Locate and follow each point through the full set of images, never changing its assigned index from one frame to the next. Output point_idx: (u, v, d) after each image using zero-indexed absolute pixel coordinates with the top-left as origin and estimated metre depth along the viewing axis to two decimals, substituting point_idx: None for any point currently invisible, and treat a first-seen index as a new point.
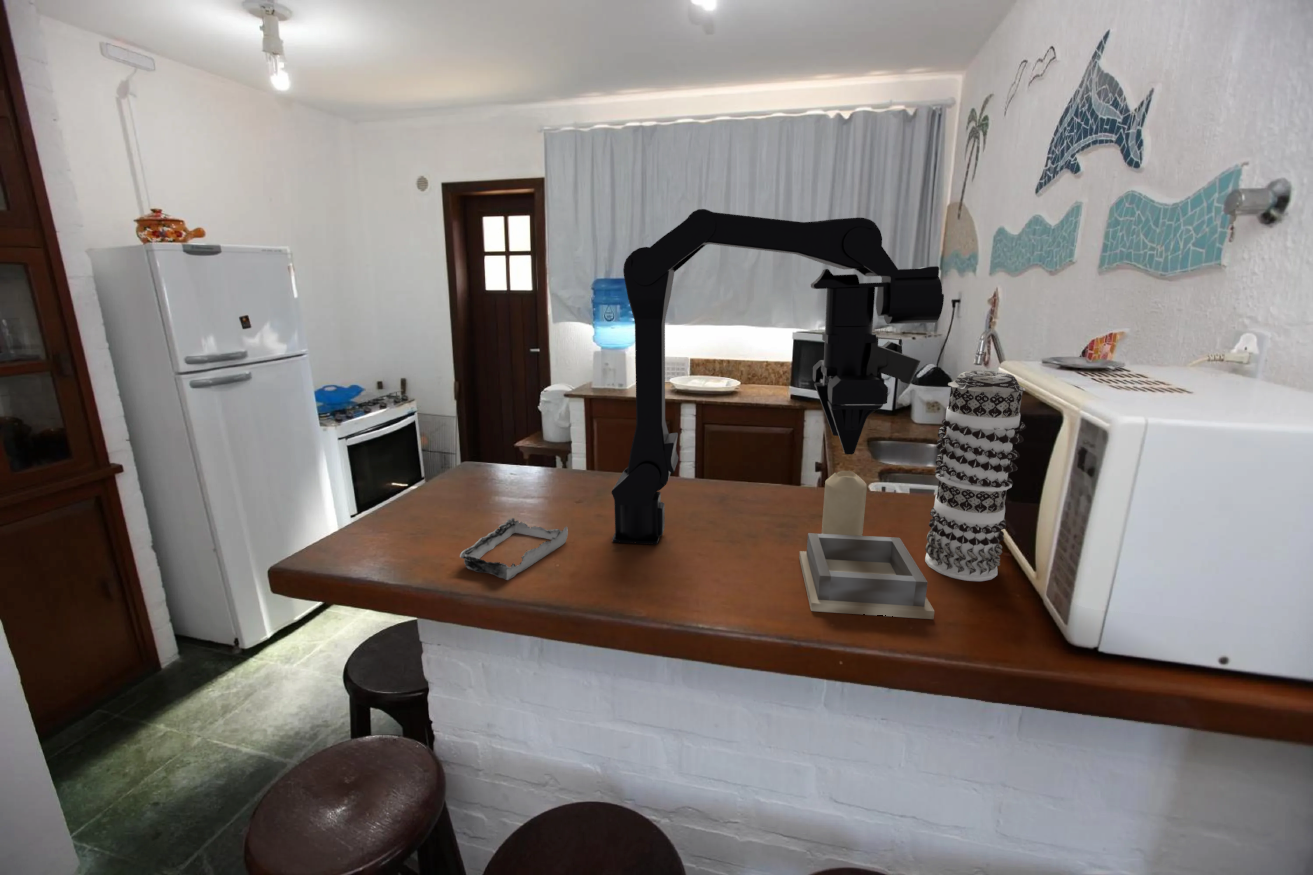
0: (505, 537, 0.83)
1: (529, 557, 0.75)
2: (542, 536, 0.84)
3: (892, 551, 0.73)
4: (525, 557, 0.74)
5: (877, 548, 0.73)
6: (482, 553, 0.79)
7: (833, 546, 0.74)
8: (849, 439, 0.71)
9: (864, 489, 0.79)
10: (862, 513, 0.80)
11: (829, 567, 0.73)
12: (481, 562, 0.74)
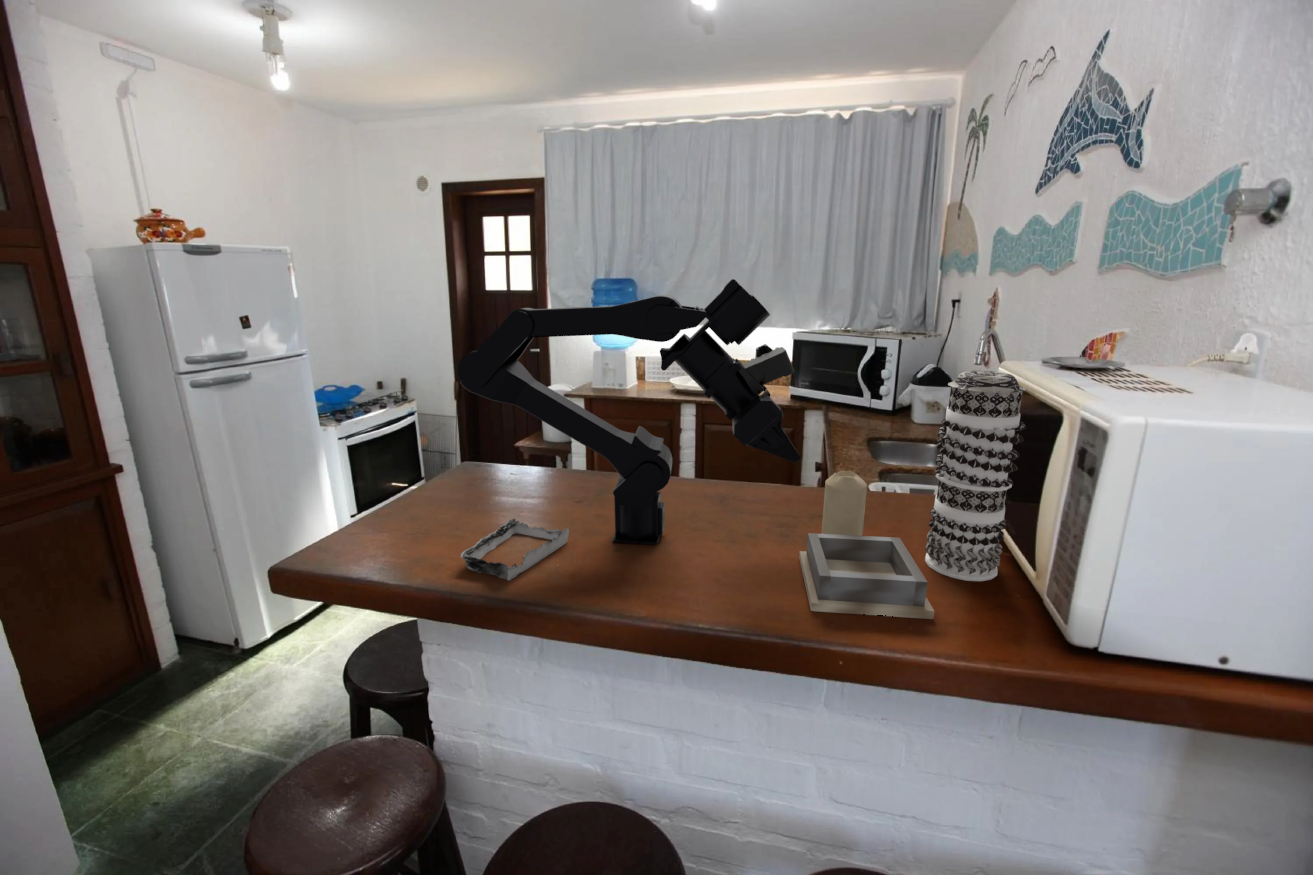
0: (506, 537, 0.83)
1: (530, 557, 0.75)
2: (543, 536, 0.84)
3: (892, 551, 0.73)
4: (527, 558, 0.74)
5: (877, 548, 0.73)
6: (483, 553, 0.78)
7: (833, 546, 0.74)
8: (786, 451, 0.74)
9: (864, 489, 0.79)
10: (862, 513, 0.80)
11: (829, 567, 0.73)
12: (482, 562, 0.74)
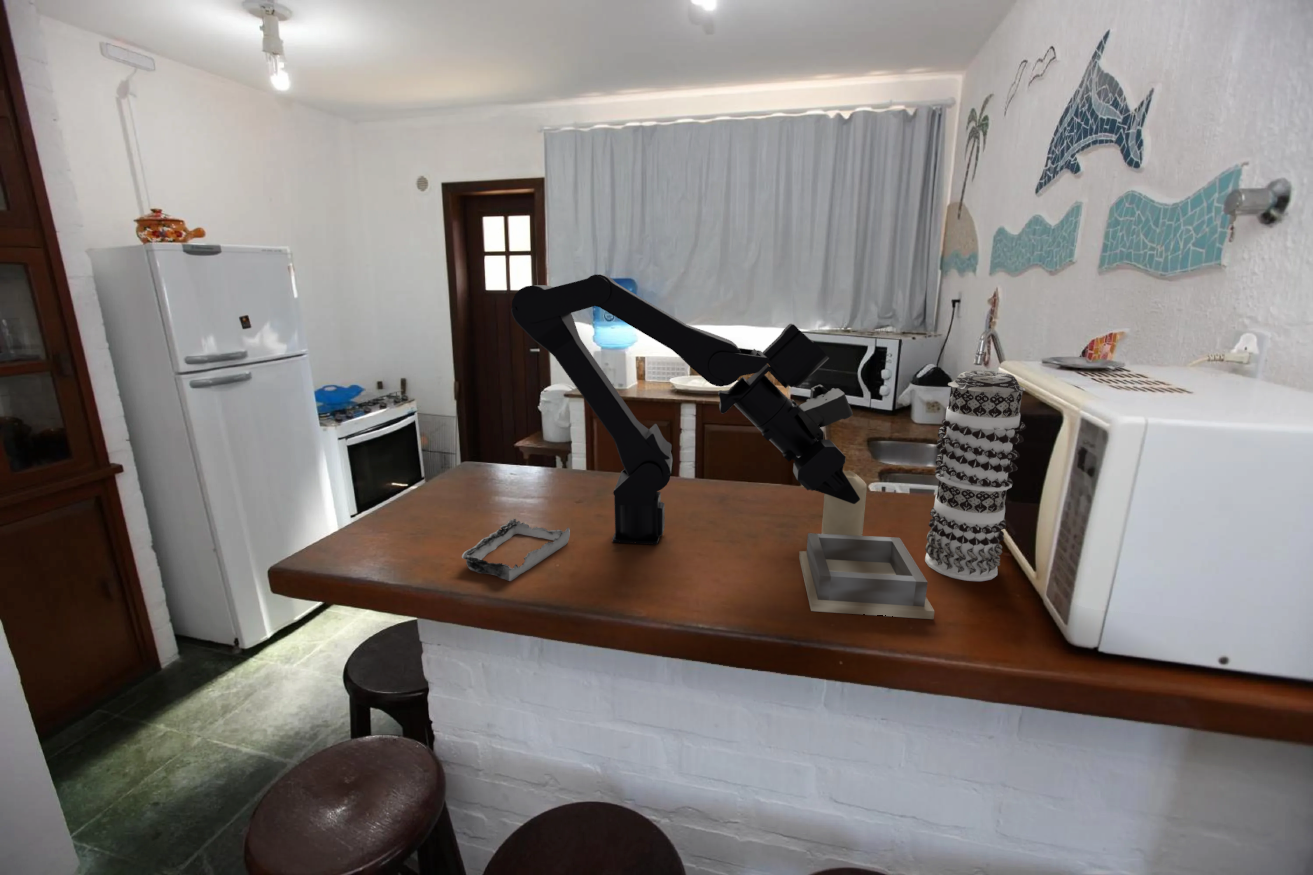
0: (507, 538, 0.83)
1: (531, 558, 0.75)
2: (544, 536, 0.84)
3: (892, 551, 0.73)
4: (528, 558, 0.74)
5: (877, 548, 0.73)
6: (484, 554, 0.78)
7: (833, 546, 0.74)
8: (846, 493, 0.75)
9: (864, 489, 0.79)
10: (862, 513, 0.80)
11: (829, 567, 0.73)
12: (483, 563, 0.73)
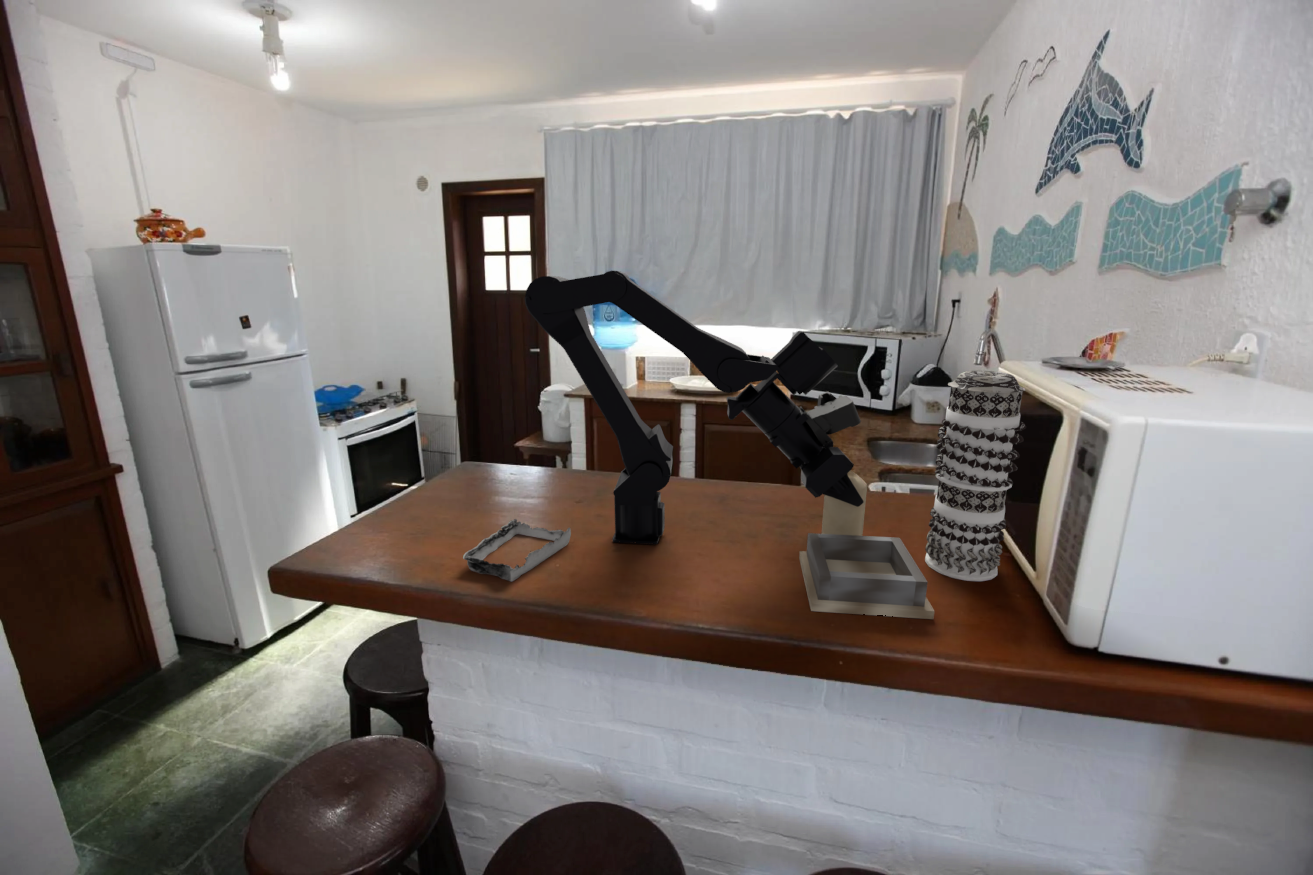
0: (507, 538, 0.83)
1: (532, 558, 0.75)
2: (545, 537, 0.84)
3: (892, 551, 0.73)
4: (529, 558, 0.74)
5: (877, 548, 0.73)
6: (485, 554, 0.78)
7: (833, 546, 0.74)
8: (850, 496, 0.77)
9: (864, 489, 0.79)
10: (862, 513, 0.80)
11: (829, 567, 0.73)
12: (484, 563, 0.73)
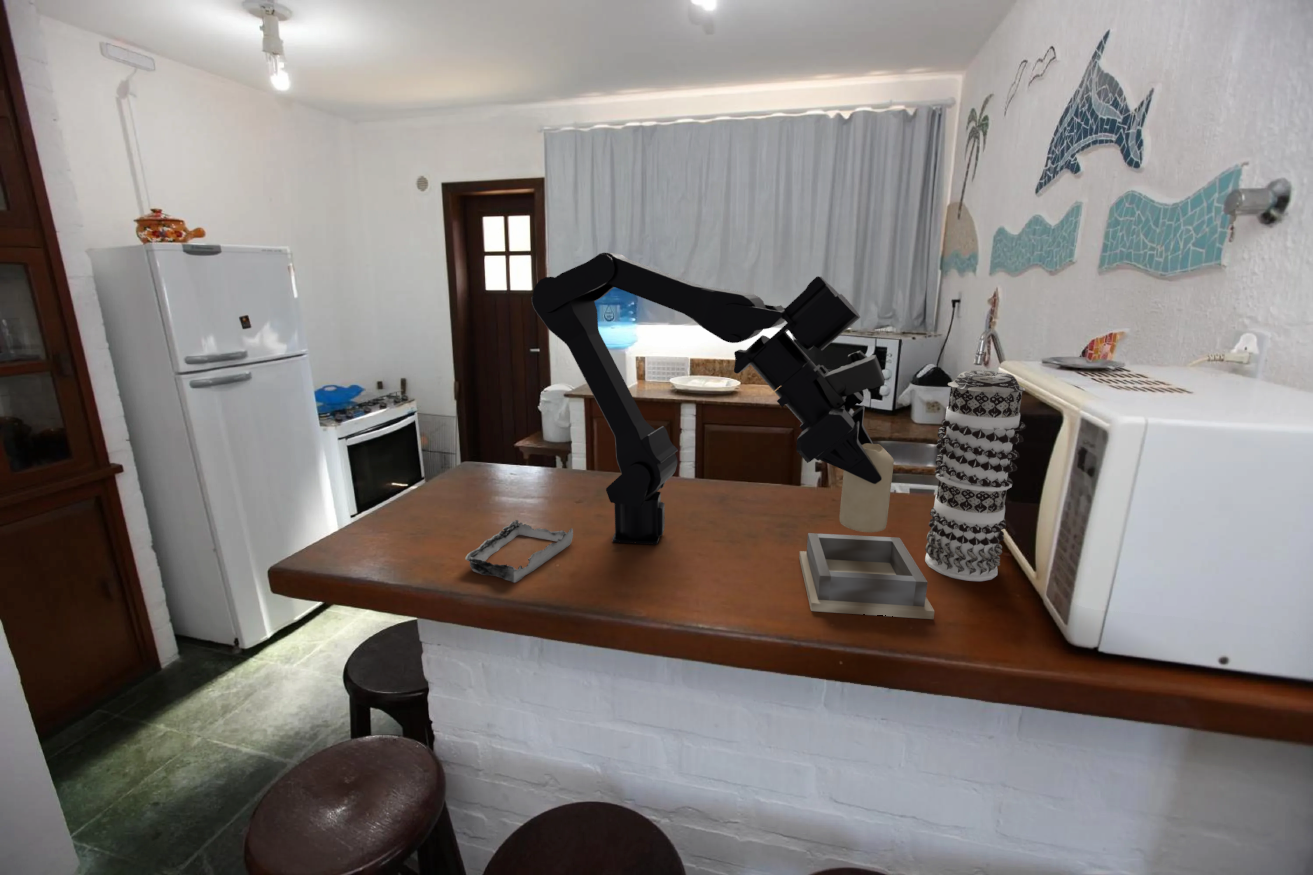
0: (509, 539, 0.83)
1: (535, 559, 0.74)
2: (547, 538, 0.83)
3: (892, 551, 0.73)
4: (532, 559, 0.74)
5: (877, 548, 0.73)
6: (487, 555, 0.78)
7: (833, 546, 0.74)
8: (864, 470, 0.66)
9: (886, 465, 0.67)
10: (884, 494, 0.68)
11: (829, 567, 0.73)
12: (487, 565, 0.73)
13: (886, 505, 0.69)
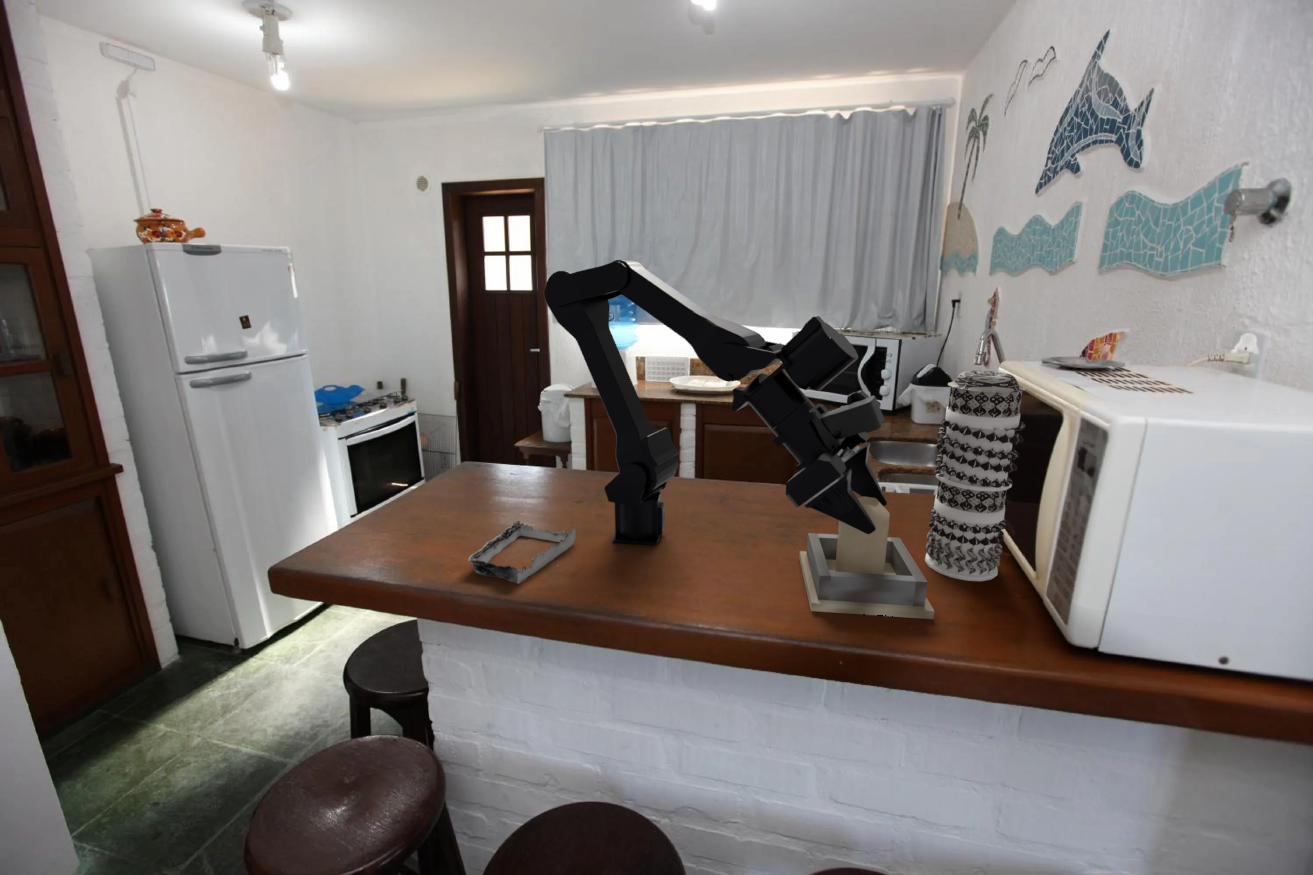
0: (511, 540, 0.82)
1: (539, 560, 0.74)
2: (549, 538, 0.83)
3: (892, 551, 0.73)
4: (535, 560, 0.74)
5: None
6: (489, 557, 0.77)
7: (833, 546, 0.74)
8: (856, 520, 0.63)
9: (880, 521, 0.65)
10: (878, 550, 0.66)
11: (829, 567, 0.73)
12: (490, 566, 0.73)
13: (881, 561, 0.67)
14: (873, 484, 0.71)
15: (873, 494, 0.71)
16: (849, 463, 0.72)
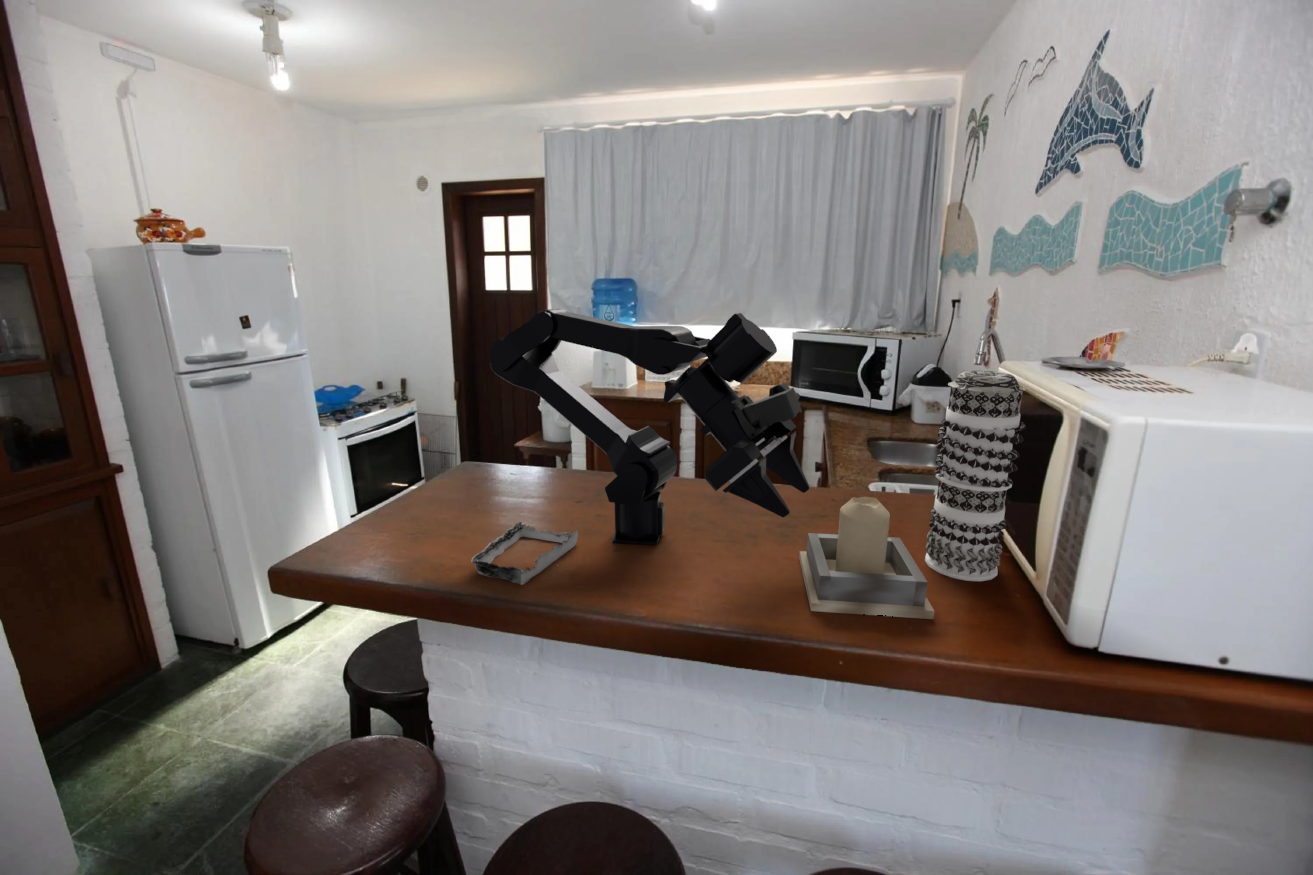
0: (513, 541, 0.82)
1: (542, 561, 0.74)
2: (551, 539, 0.83)
3: (892, 551, 0.73)
4: (539, 561, 0.73)
5: None
6: (492, 558, 0.77)
7: (833, 546, 0.74)
8: (771, 504, 0.68)
9: (880, 521, 0.65)
10: (878, 550, 0.66)
11: (829, 567, 0.73)
12: (494, 567, 0.72)
13: (881, 561, 0.67)
14: (797, 470, 0.76)
15: (797, 479, 0.76)
16: (775, 451, 0.77)
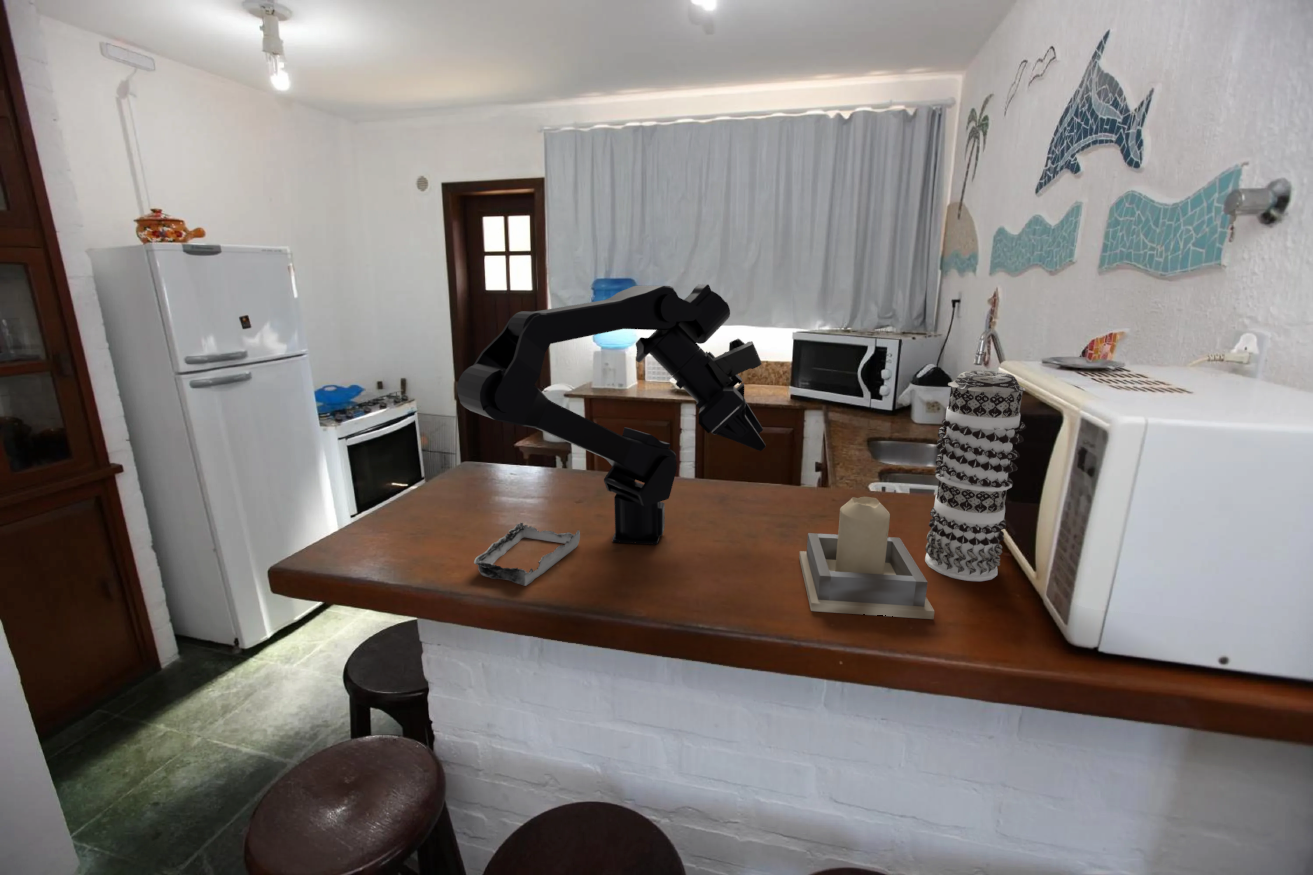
0: (515, 542, 0.82)
1: (545, 562, 0.74)
2: (553, 540, 0.83)
3: (892, 551, 0.73)
4: (542, 562, 0.73)
5: None
6: (494, 559, 0.77)
7: (833, 546, 0.74)
8: (751, 440, 0.78)
9: (880, 521, 0.65)
10: (878, 550, 0.66)
11: (829, 567, 0.73)
12: (497, 568, 0.72)
13: (881, 561, 0.67)
14: (751, 415, 0.87)
15: (752, 423, 0.88)
16: None
